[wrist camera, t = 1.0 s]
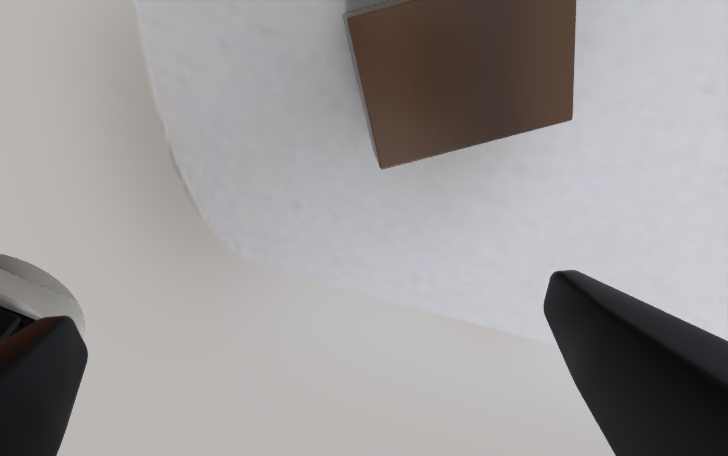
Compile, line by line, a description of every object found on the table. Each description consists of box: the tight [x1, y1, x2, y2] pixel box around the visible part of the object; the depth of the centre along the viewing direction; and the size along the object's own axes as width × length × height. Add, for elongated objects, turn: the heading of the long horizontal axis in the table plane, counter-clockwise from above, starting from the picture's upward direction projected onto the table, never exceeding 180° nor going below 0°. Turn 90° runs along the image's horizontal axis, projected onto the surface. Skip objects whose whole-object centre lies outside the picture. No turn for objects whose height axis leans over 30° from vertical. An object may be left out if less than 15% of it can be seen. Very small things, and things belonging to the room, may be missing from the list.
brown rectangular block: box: [343, 0, 576, 169], centre depth 15 cm, size 7×5×4 cm
